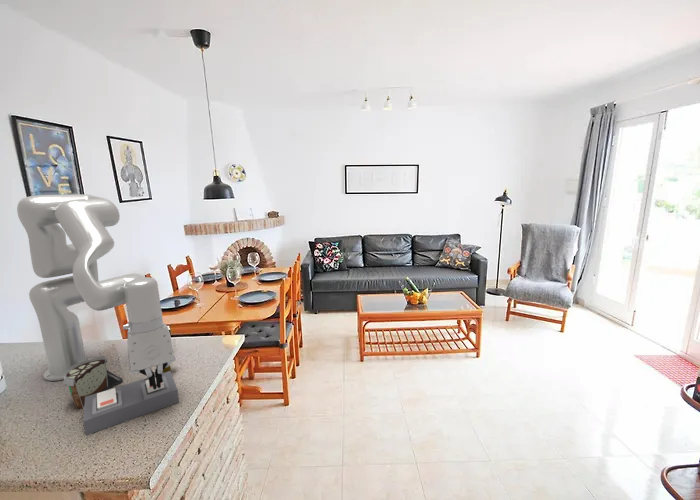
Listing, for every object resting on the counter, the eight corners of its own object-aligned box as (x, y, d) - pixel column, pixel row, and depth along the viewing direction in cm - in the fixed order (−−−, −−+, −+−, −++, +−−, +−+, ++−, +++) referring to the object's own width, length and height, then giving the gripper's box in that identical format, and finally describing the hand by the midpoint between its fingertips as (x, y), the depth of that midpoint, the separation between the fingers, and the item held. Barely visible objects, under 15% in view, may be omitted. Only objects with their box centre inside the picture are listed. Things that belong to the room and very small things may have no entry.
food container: (92, 385, 102) (87, 355, 100) (111, 385, 102) (106, 355, 100) (56, 411, 90) (49, 379, 88) (78, 412, 90) (72, 379, 88)
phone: (101, 367, 111) (124, 379, 104) (102, 370, 111) (124, 383, 104) (73, 378, 105) (95, 393, 97) (73, 381, 105) (95, 396, 97)
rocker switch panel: (87, 409, 91) (84, 393, 90) (171, 382, 103) (170, 367, 102) (85, 435, 82) (82, 417, 81) (179, 401, 94) (177, 386, 93)
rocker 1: (97, 396, 88) (96, 393, 87) (115, 391, 90) (115, 387, 90) (98, 411, 84) (97, 407, 83) (117, 405, 86) (116, 401, 85)
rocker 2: (145, 384, 94) (145, 380, 94) (161, 379, 96) (161, 375, 96) (147, 393, 90) (147, 388, 90) (164, 387, 92) (163, 383, 92)
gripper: (112, 337, 80) (124, 404, 83) (180, 320, 89) (189, 382, 92) (112, 327, 86) (123, 390, 89) (175, 313, 94) (183, 371, 98)
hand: (156, 386), depth 91 cm, fingers closed
